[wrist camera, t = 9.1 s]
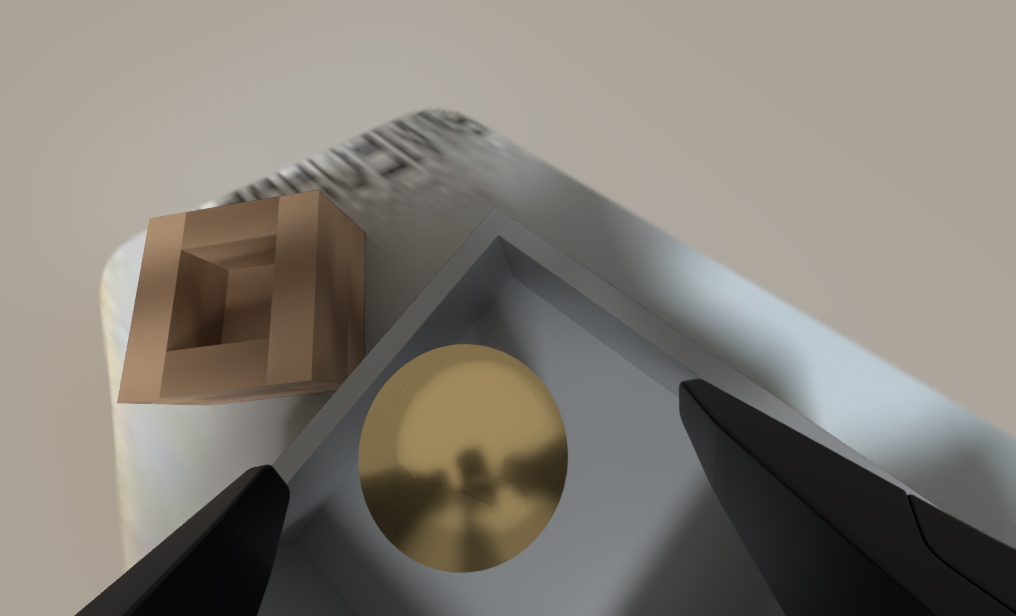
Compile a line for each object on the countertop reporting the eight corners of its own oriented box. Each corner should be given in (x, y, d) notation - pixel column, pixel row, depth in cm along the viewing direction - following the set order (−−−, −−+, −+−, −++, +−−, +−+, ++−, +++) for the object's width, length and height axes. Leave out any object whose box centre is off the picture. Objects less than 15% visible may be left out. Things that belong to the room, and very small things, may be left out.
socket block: (364, 387, 18) (311, 380, 14) (207, 405, 19) (117, 403, 15) (364, 232, 20) (319, 189, 16) (224, 253, 21) (149, 218, 17)
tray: (839, 494, 14) (977, 534, 10) (582, 903, 12) (596, 1207, 8) (511, 259, 19) (495, 206, 14) (279, 537, 17) (167, 587, 12)
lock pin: (569, 474, 15) (583, 565, 6) (476, 482, 16) (356, 579, 7) (557, 378, 16) (553, 332, 7) (469, 387, 17) (359, 356, 8)
